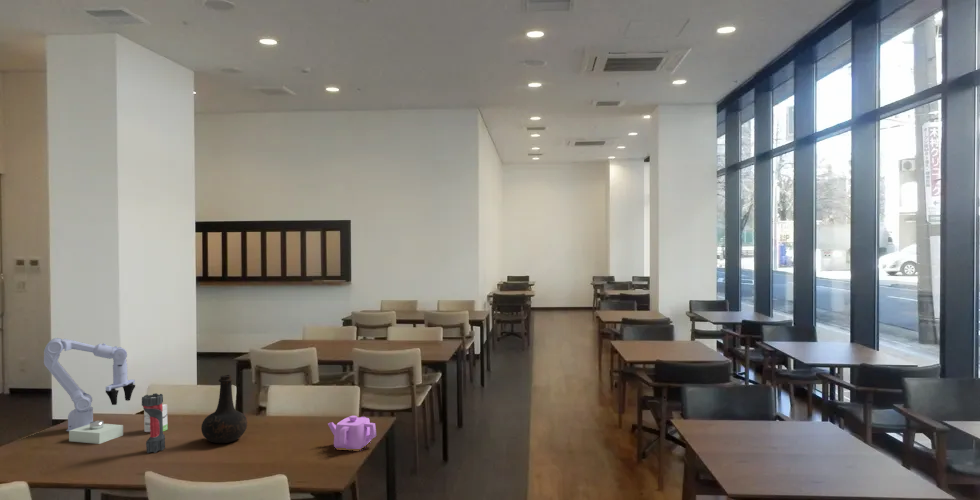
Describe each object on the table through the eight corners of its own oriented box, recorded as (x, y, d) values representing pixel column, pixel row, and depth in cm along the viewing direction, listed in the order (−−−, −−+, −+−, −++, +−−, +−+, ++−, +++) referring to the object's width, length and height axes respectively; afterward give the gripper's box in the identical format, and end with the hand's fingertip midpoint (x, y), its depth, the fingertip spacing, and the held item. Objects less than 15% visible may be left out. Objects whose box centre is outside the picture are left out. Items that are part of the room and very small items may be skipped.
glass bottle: (192, 443, 253) (192, 377, 253) (228, 432, 269) (228, 369, 269) (220, 449, 244) (220, 381, 245) (256, 437, 260) (256, 373, 260)
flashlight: (139, 455, 238) (139, 398, 238) (145, 449, 245) (145, 393, 245) (161, 453, 240) (161, 396, 240) (166, 447, 247) (166, 392, 247)
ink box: (168, 429, 272) (168, 403, 272) (160, 432, 268) (160, 406, 268) (151, 428, 274) (151, 403, 274) (143, 431, 269) (143, 405, 269)
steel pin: (86, 438, 258) (86, 423, 258) (96, 434, 263) (96, 420, 263) (96, 439, 257) (96, 424, 257) (106, 435, 262) (106, 420, 262)
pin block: (69, 441, 256) (69, 430, 256) (93, 432, 268) (93, 422, 268) (99, 443, 253) (99, 433, 253) (123, 435, 264) (123, 425, 264)
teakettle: (340, 455, 237) (340, 424, 237) (326, 444, 251) (326, 414, 251) (380, 447, 247) (380, 417, 247) (364, 437, 261) (364, 408, 261)
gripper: (114, 377, 273) (115, 407, 273) (139, 370, 287) (140, 398, 287) (101, 376, 274) (102, 406, 274) (127, 370, 288) (128, 398, 288)
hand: (121, 402), depth 281 cm, fingers open, 7 cm apart
